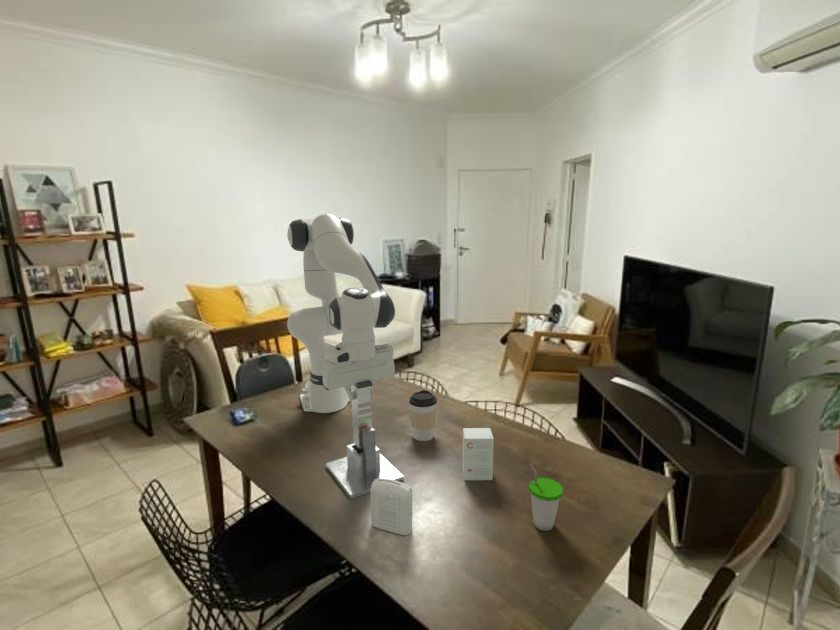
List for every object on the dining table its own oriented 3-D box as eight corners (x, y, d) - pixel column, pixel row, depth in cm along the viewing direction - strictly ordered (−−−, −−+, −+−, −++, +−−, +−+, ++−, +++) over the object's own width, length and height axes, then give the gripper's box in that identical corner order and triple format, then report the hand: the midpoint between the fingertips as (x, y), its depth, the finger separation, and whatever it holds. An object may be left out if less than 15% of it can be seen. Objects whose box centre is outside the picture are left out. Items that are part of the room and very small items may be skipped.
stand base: (326, 466, 133) (323, 418, 129) (374, 451, 141) (373, 405, 138) (351, 499, 118) (348, 445, 115) (403, 479, 127) (402, 429, 123)
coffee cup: (434, 444, 146) (434, 400, 142) (406, 441, 147) (406, 398, 144) (438, 430, 154) (438, 389, 151) (412, 428, 156) (412, 387, 152)
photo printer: (415, 526, 108) (414, 480, 105) (408, 538, 104) (407, 491, 101) (376, 516, 112) (375, 471, 109) (368, 527, 108) (366, 481, 105)
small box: (489, 468, 132) (490, 427, 129) (492, 480, 126) (494, 438, 123) (461, 468, 132) (462, 427, 129) (463, 481, 126) (464, 438, 123)
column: (351, 440, 129) (349, 377, 125) (364, 437, 131) (362, 374, 127) (360, 450, 124) (358, 384, 120) (373, 446, 126) (371, 381, 122)
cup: (567, 531, 106) (572, 474, 103) (539, 539, 104) (543, 482, 100) (547, 510, 113) (550, 457, 110) (520, 518, 111) (523, 463, 107)
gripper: (387, 340, 129) (388, 385, 132) (318, 352, 118) (321, 401, 122) (398, 345, 124) (399, 392, 127) (327, 359, 113) (330, 409, 117)
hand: (360, 396), depth 124 cm, fingers closed on column, 4 cm apart
